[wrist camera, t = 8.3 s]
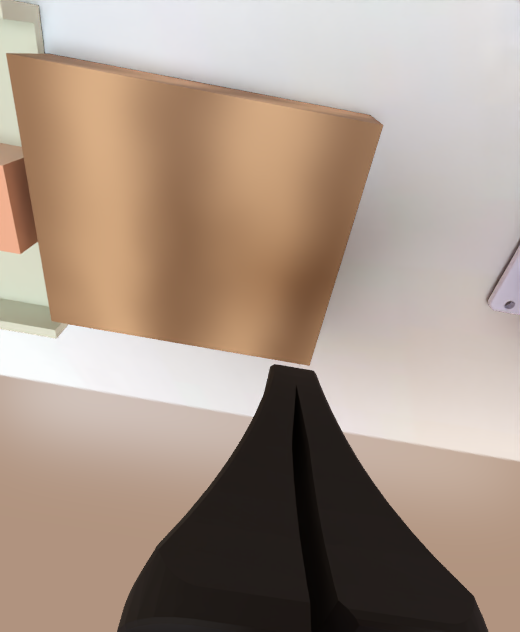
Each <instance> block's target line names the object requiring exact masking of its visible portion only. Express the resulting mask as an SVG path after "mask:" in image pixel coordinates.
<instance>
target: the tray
mask: <svg viewBox="0 0 520 632" xmlns="http://www.w3.org/2000/svg"><path fill="white" fill-rule="evenodd" d="M6 53H32V54H44V46H43V38H42V30H41V22H40V14H39V6H38V5H33V4H28V3H23V2H18V1H13V0H0V143H3V144H9V145H14V146H20V147H22V145H21V139H20V133H19V127H18V121H17V116H16V110H15V104H14V98H13V92H12V86H11V80H10V74H9V69H8V63H7V57H6ZM67 325H68V324H64V323H59V322H53V321H51V315H50V309H49V304H48V298H47V292H46V286H45V280H44V274H43V268H42V262H41V257H40V251H39V245H38V242H37V243H35V244H34V245H33V246H31V247H30V248H28V249H27V250H26V251H24V252H23V253H22V254H16V253H11V252H5V251H0V329H3V330H9V331H15V332H21V333H27V334H33V335H38V336H44V337H50V338H57V337H58V336H59V335H60V334H61V333H62V331H63V330H64V329H65V328H66V327H67Z"/></svg>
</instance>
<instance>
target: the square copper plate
mask: <svg viewBox="0 0 520 632" xmlns="http://www.w3.org/2000/svg"><path fill="white" fill-rule="evenodd" d="M6 57H7V63H8V69H9V74H10V80H11V86H12V92H13V98H14V104H15V110H16V116H17V121H18V127H19V133H20V139H21V145H22V151H23V157H24V163H25V168H26V174H27V180H28V186H29V192H30V198H31V204H32V210H33V215H34V221H35V227H36V233H37V239H38V245H39V251H40V257H41V262H42V268H43V274H44V280H45V286H46V292H47V298H48V304H49V309H50V315H51V321H53V322H59V323H64V324H70V325H76V326H82V327H88V328H93V329H99V330H105V331H111V332H117V333H123V334H128V335H134V336H140V337H146V338H152V339H158V340H163V341H169V342H175V343H181V344H187V345H192V346H198V347H204V348H210V349H216V350H222V351H227V352H233V353H239V354H245V355H251V356H256V357H262V358H268V359H274V360H280V361H286V362H291V363H297V364H303V365H310V362H311V359H312V355H313V352H314V349H315V346H316V342H317V339H318V336H319V333H320V329H321V326H322V323H323V320H324V316H325V313H326V310H327V307H328V303H329V300H330V297H331V294H332V290H333V287H334V284H335V281H336V277H337V274H338V271H339V268H340V264H341V261H342V258H343V255H344V251H345V248H346V245H347V242H348V238H349V235H350V232H351V229H352V225H353V222H354V219H355V215H356V212H357V209H358V206H359V202H360V199H361V196H362V193H363V189H364V186H365V183H366V180H367V176H368V173H369V170H370V167H371V163H372V160H373V157H374V154H375V150H376V147H377V144H378V141H379V137H380V134H381V131H382V128H383V125H382V124H381V123H380V122H378V121H377V120H376V119H375V118H373V117H372V116H371V115H367V114H361V113H356V112H351V111H346V110H341V109H335V108H330V107H325V106H320V105H314V104H309V103H304V102H299V101H294V100H288V99H283V98H278V97H273V96H267V95H262V94H257V93H252V92H247V91H241V90H236V89H231V88H226V87H220V86H215V85H210V84H205V83H199V82H194V81H189V80H184V79H179V78H173V77H168V76H163V75H158V74H152V73H147V72H142V71H137V70H132V69H126V68H121V67H116V66H111V65H105V64H100V63H95V62H90V61H85V60H79V59H74V58H69V57H64V56H58V55H53V54H32V53H6Z"/></svg>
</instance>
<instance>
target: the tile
mask: <svg viewBox="0 0 520 632" xmlns="http://www.w3.org/2000/svg"><path fill="white" fill-rule="evenodd" d="M37 242H38V239H37V233H36V227H35V221H34V215H33V210H32V204H31V198H30V192H29V186H28V180H27V174H26V168H25V163H24V157H23V151H22V147H20V146H14V145H9V144H3V143H0V251H5V252H11V253H16V254H22V253H23V252H24V251H26V250H27V249H28V248H30V247H31V246H33V245H34V244H35V243H37Z"/></svg>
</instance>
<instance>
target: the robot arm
mask: <svg viewBox="0 0 520 632" xmlns="http://www.w3.org/2000/svg"><path fill="white" fill-rule="evenodd" d="M509 301H511V303H510V304H508V305H505V304H506V303H507V302H509ZM488 305H489V306H490V307H491V308H492V309H493V310H495V311H500V312H506V313H511V314H517V315H520V246H519V247H518V249H517V251H516V253H515V254H514V256H513V258H512V260H511V261H510V263H509V265H508V266H507V268H506V270H505V272H504V273H503V275H502V277H501V279H500V280H499V282H498V284H497V286H496V287H495V289H494V291H493V293H492V294H491V296H490V298H489V300H488ZM117 632H488V629H487V627H486V624H485V621H484V619H483V617H482V614H481V612H480V610H479V608H478V605H477V603H476V600H475V598H474V596H473V595H472V594H471V593H470V592H469V591H468V590H467V589H466V588H465V587H464V586H463V585H462V584H461V583H460V582H459V581H458V580H457V579H456V578H455V577H454V576H453V575H452V574H451V573H450V572H449V571H448V570H447V569H446V568H445V567H444V566H443V565H442V564H441V563H440V562H439V561H438V560H437V559H436V558H435V557H434V556H433V555H432V554H431V553H430V552H429V550H428V549H426V547H425V546H424V545H423V544H422V543H421V542H420V541H419V539H418V538H417V537H416V536H415V535H414V534H413V533H412V531H411V530H410V529H409V528H408V527H407V525H406V524H405V523H404V522H403V521H402V519H401V518H400V517H399V516H398V514H397V513H396V512H395V511H394V510H393V508H392V507H391V506H390V505H389V503H388V502H387V501H386V499H385V498H384V497H383V495H382V494H381V492H380V491H379V490H378V488H377V487H376V486H375V484H374V483H373V481H372V480H371V478H370V477H369V475H368V474H367V472H366V471H365V469H364V468H363V466H362V465H361V463H360V462H359V460H358V458H357V457H356V455H355V453H354V452H353V450H352V448H351V447H350V445H349V443H348V441H347V440H346V438H345V436H344V434H343V432H342V430H341V429H340V427H339V425H338V423H337V421H336V419H335V417H334V415H333V413H332V411H331V409H330V406H329V404H328V402H327V400H326V398H325V395H324V393H323V391H322V388H321V386H320V383H319V381H318V378H317V375H316V373H315V372H314V371H312V370H306V369H300V368H294V367H288V366H282V365H276V364H274V365H272V366H270V370H269V374H268V379H267V383H266V387H265V392H264V395H263V397H262V400H261V402H260V404H259V407H258V409H257V411H256V413H255V415H254V417H253V419H252V421H251V423H250V425H249V427H248V429H247V430H246V432H245V434H244V436H243V437H242V439H241V441H240V442H239V444H238V446H237V447H236V449H235V450H234V452H233V454H232V455H231V457H230V458H229V460H228V461H227V463H226V464H225V465H224V467H223V468H222V470H221V471H220V472H219V474H218V475H217V477H216V478H215V480H214V481H213V482H212V483H211V485H210V486H209V487H208V489H207V490H206V491H205V492H204V493H203V495H202V496H201V497H200V498H199V500H198V501H197V502H196V503H195V504H194V506H193V507H192V508H191V509H190V511H189V512H188V513H187V514H186V515H185V516H184V517H183V518H182V520H181V521H180V522H179V523H178V524H177V525H176V526H175V527H174V528H173V529H172V530H171V531H170V532H169V533H168V535H167V536H166V537H165V538H164V539H163V540H162V541H161V542H160V543H159V544H158V545H157V547H156V549H155V551H154V552H153V554H152V555H151V557H150V558H149V560H148V562H147V563H146V565H145V566H144V568H143V570H142V571H141V573H140V575H139V577H138V578H137V580H136V582H135V583H134V585H133V587H132V589H131V591H130V593H129V596H128V598H127V600H126V603H125V606H124V609H123V613H122V616H121V620H120V623H119V627H118V630H117Z"/></svg>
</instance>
